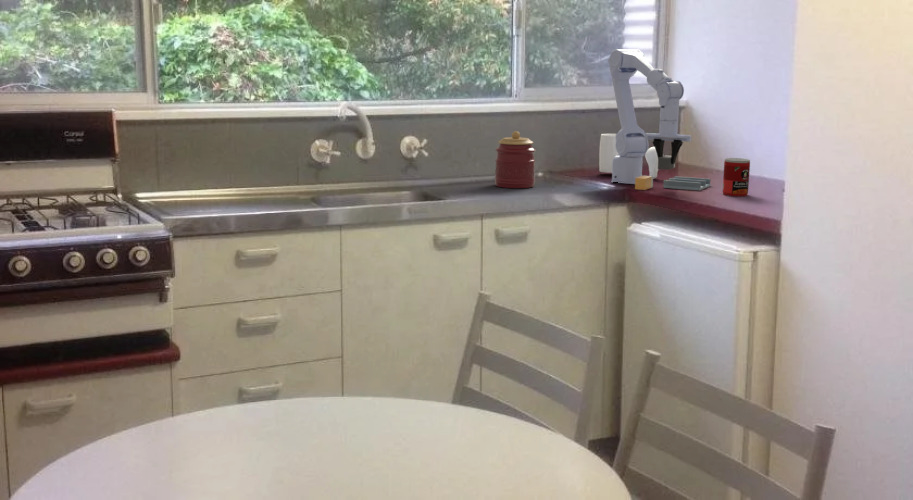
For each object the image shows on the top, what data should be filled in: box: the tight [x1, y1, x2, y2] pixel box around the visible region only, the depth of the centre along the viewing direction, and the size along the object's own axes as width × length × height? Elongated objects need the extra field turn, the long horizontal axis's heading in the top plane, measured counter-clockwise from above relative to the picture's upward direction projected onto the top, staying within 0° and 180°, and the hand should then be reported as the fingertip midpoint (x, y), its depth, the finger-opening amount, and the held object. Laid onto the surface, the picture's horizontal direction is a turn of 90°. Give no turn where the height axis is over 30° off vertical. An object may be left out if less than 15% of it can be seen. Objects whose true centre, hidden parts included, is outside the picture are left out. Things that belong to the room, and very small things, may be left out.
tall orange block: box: [634, 175, 654, 191], centre depth 348 cm, size 8×3×4 cm, turn 152°
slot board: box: [662, 175, 712, 191], centre depth 353 cm, size 12×12×2 cm
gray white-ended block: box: [658, 155, 676, 171], centre depth 344 cm, size 8×3×4 cm, turn 153°
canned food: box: [722, 157, 751, 197], centre depth 336 cm, size 8×8×11 cm
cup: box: [598, 133, 619, 174], centre depth 381 cm, size 8×8×14 cm
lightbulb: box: [644, 146, 659, 180], centre depth 372 cm, size 6×6×11 cm
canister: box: [494, 130, 537, 189], centre depth 348 cm, size 13×13×18 cm
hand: (666, 163), depth 344 cm, fingers closed on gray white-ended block, 3 cm apart
